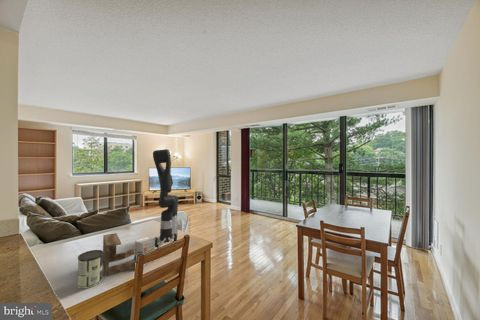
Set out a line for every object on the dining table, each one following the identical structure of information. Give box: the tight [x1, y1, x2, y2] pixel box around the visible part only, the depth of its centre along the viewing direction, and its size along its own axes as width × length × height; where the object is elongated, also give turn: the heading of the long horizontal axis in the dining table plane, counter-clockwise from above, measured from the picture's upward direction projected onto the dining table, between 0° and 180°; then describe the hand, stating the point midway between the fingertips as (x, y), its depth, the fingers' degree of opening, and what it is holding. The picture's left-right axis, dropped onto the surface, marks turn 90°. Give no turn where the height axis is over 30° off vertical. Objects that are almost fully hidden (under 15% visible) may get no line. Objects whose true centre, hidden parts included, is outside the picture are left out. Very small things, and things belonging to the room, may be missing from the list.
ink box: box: [133, 236, 156, 261], centre depth 130 cm, size 9×8×12 cm
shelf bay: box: [102, 232, 137, 276], centre depth 123 cm, size 18×24×16 cm
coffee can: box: [77, 249, 104, 289], centre depth 104 cm, size 10×10×14 cm
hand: (165, 251), depth 138 cm, fingers open, 8 cm apart
